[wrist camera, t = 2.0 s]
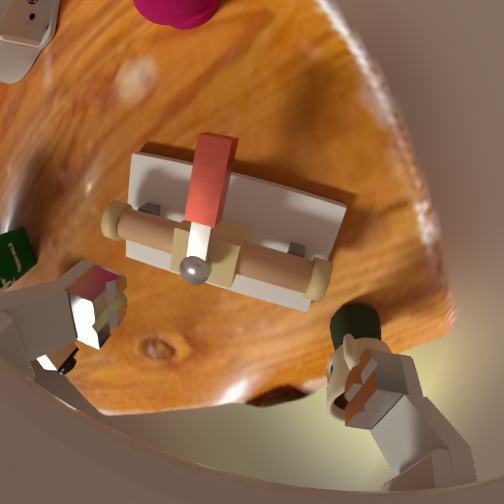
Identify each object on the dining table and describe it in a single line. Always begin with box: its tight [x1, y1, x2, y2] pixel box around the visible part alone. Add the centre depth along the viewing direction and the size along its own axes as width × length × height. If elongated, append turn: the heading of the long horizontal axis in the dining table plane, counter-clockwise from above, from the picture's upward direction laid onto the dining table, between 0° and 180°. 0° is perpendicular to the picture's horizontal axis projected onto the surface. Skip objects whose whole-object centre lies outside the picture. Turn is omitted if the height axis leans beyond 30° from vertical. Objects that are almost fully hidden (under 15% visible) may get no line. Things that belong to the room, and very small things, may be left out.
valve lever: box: [179, 132, 239, 285], centre depth 23 cm, size 12×3×2 cm, turn 167°
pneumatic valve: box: [37, 342, 79, 375], centre depth 40 cm, size 6×12×12 cm, turn 21°
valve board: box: [101, 151, 347, 312], centre depth 29 cm, size 13×23×8 cm, turn 77°
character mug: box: [327, 305, 391, 423], centre depth 29 cm, size 11×7×13 cm, turn 27°
